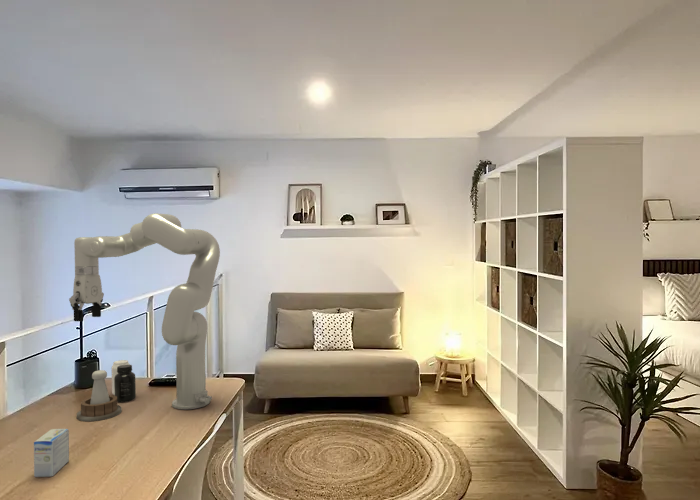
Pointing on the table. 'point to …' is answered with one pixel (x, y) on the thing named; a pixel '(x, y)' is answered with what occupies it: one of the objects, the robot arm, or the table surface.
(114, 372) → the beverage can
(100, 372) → the salt shaker
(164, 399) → the table surface
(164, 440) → the table surface
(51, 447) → the medicine box
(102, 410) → the walnut sleeve
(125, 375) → the supplement bottle
